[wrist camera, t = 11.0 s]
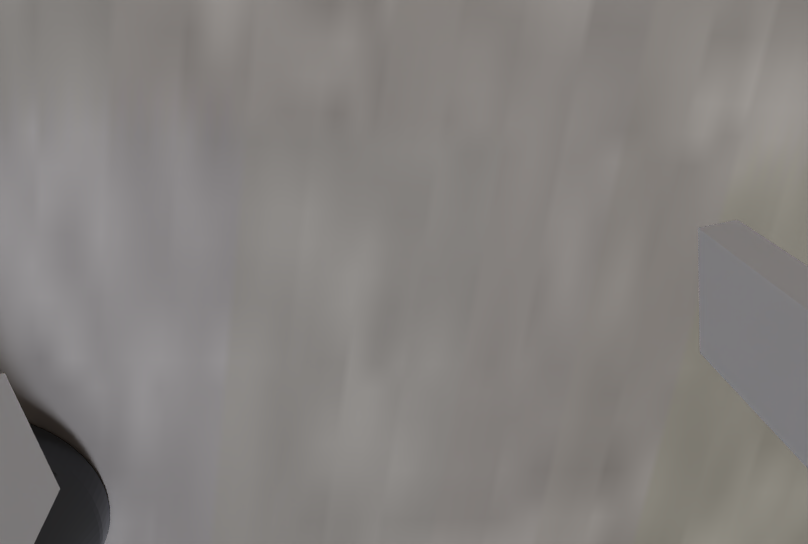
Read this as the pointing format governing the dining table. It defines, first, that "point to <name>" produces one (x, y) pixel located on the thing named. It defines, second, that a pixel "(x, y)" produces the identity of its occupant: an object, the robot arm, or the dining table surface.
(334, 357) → the dining table surface
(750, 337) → the robot arm
